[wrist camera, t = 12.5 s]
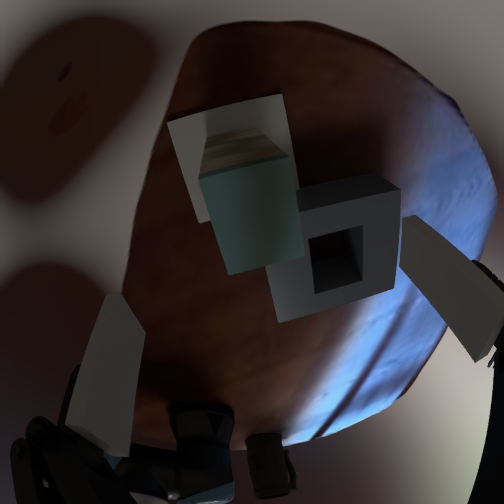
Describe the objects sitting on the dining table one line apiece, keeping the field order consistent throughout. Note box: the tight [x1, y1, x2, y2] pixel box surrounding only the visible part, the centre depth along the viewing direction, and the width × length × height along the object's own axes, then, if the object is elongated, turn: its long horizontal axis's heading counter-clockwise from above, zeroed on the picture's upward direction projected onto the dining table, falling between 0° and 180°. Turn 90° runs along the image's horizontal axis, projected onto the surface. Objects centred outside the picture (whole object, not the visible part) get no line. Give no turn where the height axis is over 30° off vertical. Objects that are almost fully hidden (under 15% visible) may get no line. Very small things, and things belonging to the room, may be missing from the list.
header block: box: [264, 172, 401, 323], centre depth 33 cm, size 16×14×6 cm
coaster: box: [167, 94, 300, 223], centre depth 29 cm, size 12×12×1 cm
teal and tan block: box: [198, 126, 305, 275], centre depth 23 cm, size 5×6×15 cm
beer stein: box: [245, 433, 297, 500], centre depth 63 cm, size 15×11×20 cm
